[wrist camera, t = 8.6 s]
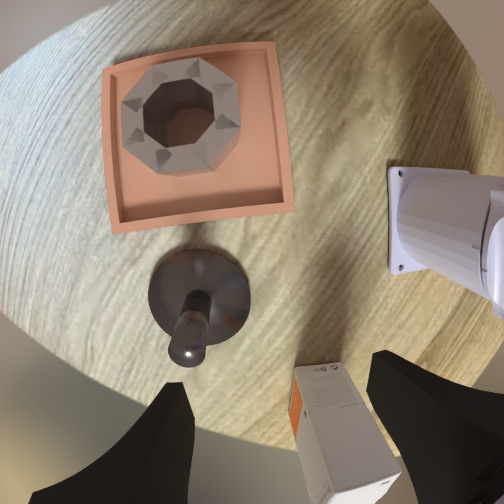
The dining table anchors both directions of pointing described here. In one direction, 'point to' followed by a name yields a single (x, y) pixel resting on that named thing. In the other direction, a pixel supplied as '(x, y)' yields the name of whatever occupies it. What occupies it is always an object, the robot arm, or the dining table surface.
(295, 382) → the skincare box
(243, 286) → the stand
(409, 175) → the robot arm
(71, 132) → the dining table surface
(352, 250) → the dining table surface
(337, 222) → the dining table surface
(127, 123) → the octagonal pencil cup
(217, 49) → the tray
